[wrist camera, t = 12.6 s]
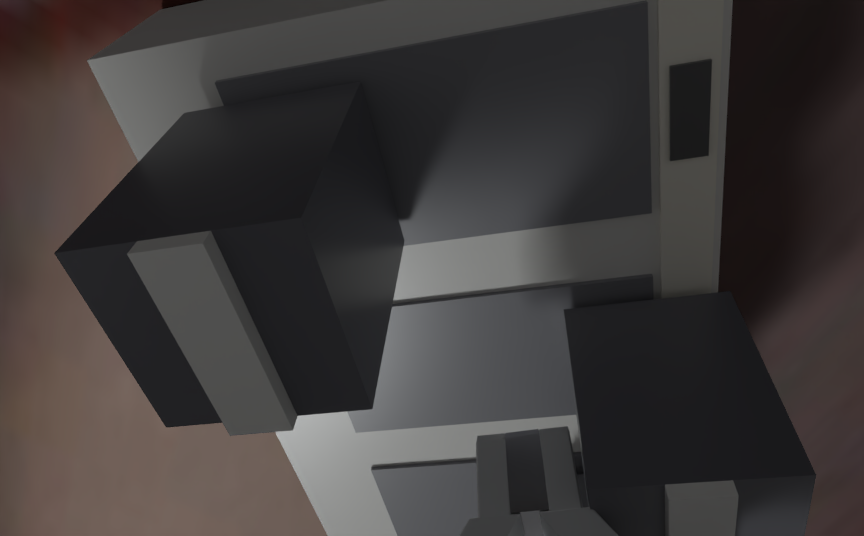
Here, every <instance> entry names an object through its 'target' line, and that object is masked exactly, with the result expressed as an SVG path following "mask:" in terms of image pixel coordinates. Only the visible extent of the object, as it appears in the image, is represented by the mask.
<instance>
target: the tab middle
mask: <svg viewBox="0 0 864 536" xmlns="http://www.w3.org/2000/svg"><path fill="white" fill-rule="evenodd" d="M564 317H565V325H566V333H567V342H568V350H569V359H570V367H571V375H572V384H573V392H574V401H575V409H576V417H577V425H578V432H579V440H580V447H581V455H582V462H583V470H584V478H585V485H586V493H587V500H588V507H590V509H593V510H595V511H596V512H597V513H598V514H599V515H600V516H601V517H602V519H603V520H604V521H605V522H606V523H607V524H608V525H609V526H610V527H611V528H612V529H613V530H614V531H615V532H616V533H617V534H618V535H619V536H804V534H805V529H806V524H807V519H808V514H809V509H810V504H811V499H812V493H813V488H814V483H815V478H816V474H815V472H814V470H813V467H812V465H811V463H810V461H809V459H808V457H807V455H806V452H805V450H804V448H803V446H802V444H801V442H800V439H799V437H798V435H797V433H796V431H795V429H794V427H793V424H792V422H791V420H790V418H789V416H788V414H787V412H786V409H785V407H784V405H783V403H782V401H781V399H780V397H779V394H778V392H777V390H776V388H775V386H774V384H773V382H772V379H771V377H770V375H769V373H768V371H767V369H766V367H765V364H764V362H763V360H762V358H761V356H760V354H759V351H758V349H757V347H756V345H755V343H754V341H753V339H752V336H751V334H750V332H749V330H748V328H747V326H746V324H745V321H744V319H743V317H742V315H741V313H740V311H739V309H738V306H737V304H736V302H735V300H734V298H733V296H732V294H731V291H727V292H717V293H708V294H699V295H690V296H681V297H672V298H663V299H654V300H645V301H636V302H626V303H617V304H608V305H599V306H590V307H581V308H572V309H564Z"/></svg>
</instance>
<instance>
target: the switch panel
mask: <svg viewBox="0 0 864 536" xmlns="http://www.w3.org/2000/svg"><path fill="white" fill-rule="evenodd" d="M732 5H733V0H203V1H198V2H194V3H189V4H184V5H179V6H175V7H170V8H165V9H161V10H159V11H158V12H156V13H155V14H153V15H152V16H150V17H149V18H148V19H146V20H145V21H143V22H142V23H140V24H139V25H137V26H136V27H135V28H133V29H132V30H130V31H129V32H127V33H126V34H124V35H123V36H122V37H120V38H119V39H117V40H116V41H114V42H113V43H111V44H110V45H109V46H107V47H106V48H104V49H103V50H101V51H100V52H98V53H97V54H96V55H94V56H93V57H91V58H90V59H88V60H87V61H88V63H89V65H90V67H91V69H92V71H93V73H94V75H95V77H96V79H97V81H98V83H99V85H100V87H101V89H102V91H103V93H104V95H105V97H106V99H107V101H108V103H109V105H110V107H111V109H112V111H113V113H114V115H115V117H116V119H117V121H118V123H119V125H120V126H121V128H122V130H123V132H124V134H125V136H126V138H127V140H128V142H129V144H130V146H131V148H132V150H133V152H134V154H135V156H136V158H137V160H138V162H139V161H140V160H141V159H142V158H143V157H144V156H145V155H146V154H147V152H148V151H149V150H150V149H151V148H152V147H153V146H154V145H155V144H156V143H157V142H158V141H159V140H160V138H161V137H162V136H163V135H164V134H165V133H166V132H167V131H168V130H169V129H170V128H171V127H172V125H173V124H174V123H175V122H176V121H177V120H178V119H179V118H180V117H181V116H182V115H183V114H184V113H187V112H192V111H198V110H203V109H209V108H215V107H220V106H226V105H231V104H237V103H242V102H248V101H254V100H259V99H265V98H270V97H276V96H282V95H287V94H293V93H298V92H304V91H309V90H315V89H321V88H326V87H332V86H337V85H343V84H349V83H354V82H360V81H361V84H362V88H363V91H364V95H365V99H366V102H367V106H368V110H369V113H370V117H371V121H372V124H373V128H374V132H375V135H376V139H377V142H378V146H379V150H380V153H381V157H382V161H383V164H384V168H385V172H386V175H387V179H388V183H389V186H390V190H391V194H392V197H393V201H394V204H395V208H396V212H397V215H398V219H399V223H400V226H401V230H402V234H403V237H404V246H403V251H402V257H401V262H400V267H399V272H398V278H397V283H396V288H395V293H394V299H393V304H392V309H391V314H390V320H389V325H388V330H387V335H386V341H385V346H384V351H383V356H382V362H381V367H380V372H379V377H378V383H377V388H376V393H375V398H374V404H373V409H369V410H358V411H347V412H335V413H324V414H313V415H301V416H297V419H296V422H295V426H294V429H293V430H292V431H280V432H275V433H276V434H277V436H278V438H279V440H280V442H281V444H282V446H283V448H284V450H285V452H286V454H287V456H288V458H289V460H290V462H291V464H292V466H293V468H294V470H295V472H296V474H297V476H298V478H299V480H300V482H301V484H302V486H303V488H304V490H305V492H306V494H307V496H308V498H309V500H310V502H311V504H312V506H313V508H314V510H315V511H316V513H317V515H318V517H319V519H320V521H321V523H322V525H323V527H324V529H325V531H326V533H327V535H328V536H459V535H460V533H461V532H462V530H463V528H464V527H465V525H466V524H467V522H468V521H469V519H470V518H478V500H477V465H476V441H477V436H481V435H491V434H501V433H509V432H517V431H525V430H533V429H538V430H539V429H547V428H555V427H564V426H568V429H569V431H570V437H571V443H572V449H573V454H574V460H575V466H576V472H577V474H584V470H583V462H582V455H581V447H580V440H579V432H578V425H577V417H576V409H575V401H574V392H573V384H572V375H571V367H570V359H569V350H568V342H567V333H566V325H565V317H564V309H572V308H581V307H590V306H599V305H608V304H617V303H626V302H636V301H645V300H654V299H663V298H672V297H681V296H690V295H699V294H708V293H717V292H718V283H719V263H720V243H721V223H722V203H723V184H724V164H725V144H726V124H727V104H728V84H729V64H730V45H731V25H732Z"/></svg>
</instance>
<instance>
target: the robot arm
mask: <svg viewBox="0 0 864 536" xmlns="http://www.w3.org/2000/svg"><path fill="white" fill-rule="evenodd" d="M476 465H477V500H478V518H470V519H469V521H468V522H467V524H466V525H465V527H464V528H463V530H462V532H461V533H460V535H459V536H619V535H618V534H617V533H616V532H615V531H614V530H613V529H612V528H611V527H610V526H609V525H608V524H607V523H606V522H605V521H604V520H603V519H602V517H601V516H600V515H599V514H598V513H597V512H596V511H595V510H593V509H590V507H583V506H582V500H581V495H580V489H579V483H578V477H577V472H576V466H575V460H574V454H573V449H572V443H571V437H570V431H569V429H568V426H564V427H555V428H547V429H539V430H538V429H533V430H525V431H517V432H509V433H501V434H491V435H481V436H477V441H476Z"/></svg>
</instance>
